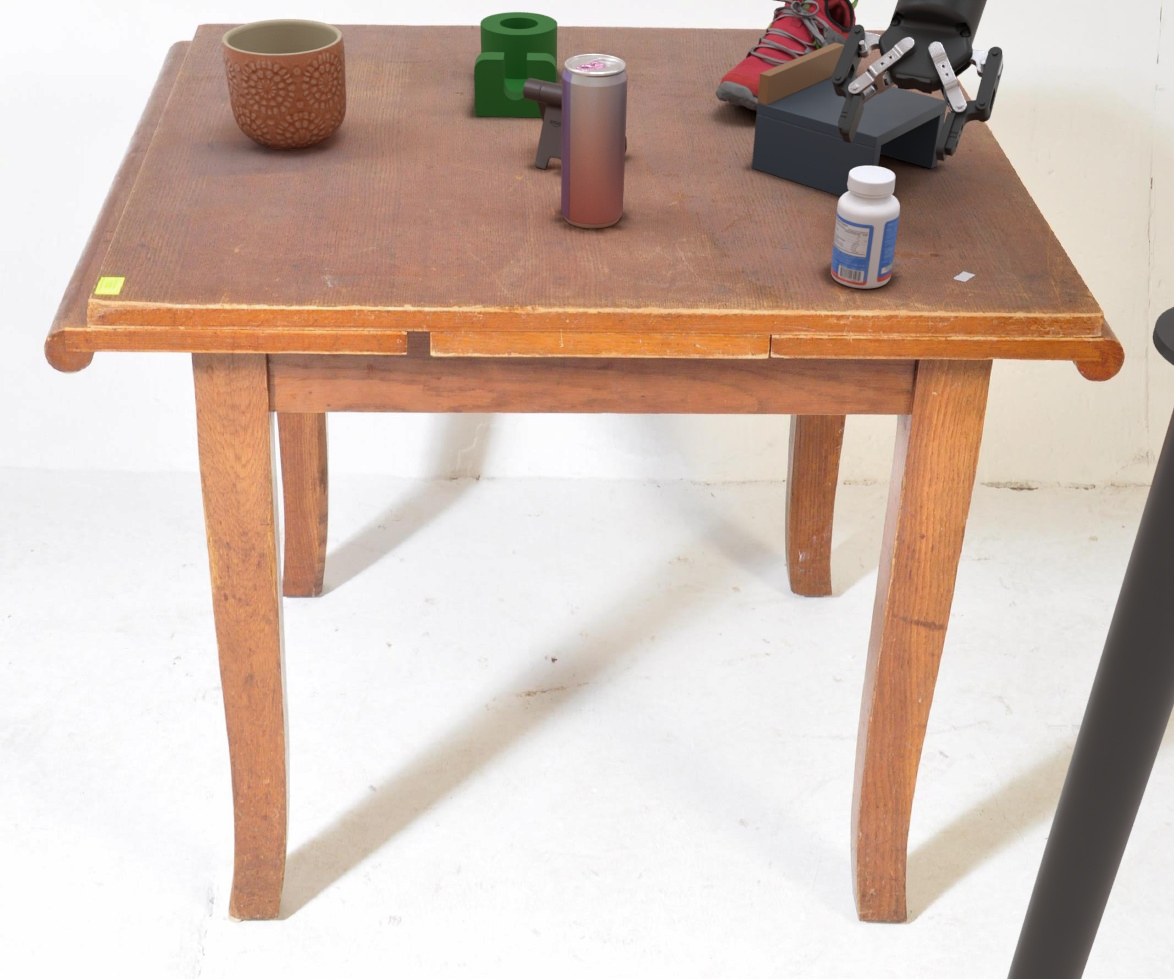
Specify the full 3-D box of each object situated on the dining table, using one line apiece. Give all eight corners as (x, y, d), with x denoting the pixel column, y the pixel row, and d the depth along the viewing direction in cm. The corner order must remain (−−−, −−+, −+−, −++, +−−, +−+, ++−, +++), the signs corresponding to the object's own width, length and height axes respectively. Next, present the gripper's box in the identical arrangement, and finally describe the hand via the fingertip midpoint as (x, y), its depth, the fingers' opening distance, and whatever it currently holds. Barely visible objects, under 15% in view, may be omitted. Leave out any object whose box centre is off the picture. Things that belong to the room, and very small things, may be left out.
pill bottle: (875, 261, 131) (890, 159, 126) (900, 287, 127) (916, 183, 122) (819, 266, 130) (832, 164, 125) (842, 293, 126) (856, 188, 121)
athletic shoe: (675, 104, 165) (681, -2, 158) (827, 63, 178) (838, -36, 172) (750, 135, 157) (759, 26, 151) (903, 91, 170) (918, -12, 164)
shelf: (937, 166, 151) (952, 72, 145) (867, 205, 142) (880, 106, 137) (824, 133, 158) (835, 42, 153) (751, 168, 150) (759, 73, 144)
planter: (318, 110, 161) (309, 12, 155) (371, 144, 153) (364, 41, 147) (214, 132, 155) (201, 30, 149) (264, 169, 147) (252, 62, 141)
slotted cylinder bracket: (483, 64, 175) (482, 11, 172) (557, 66, 176) (557, 13, 172) (475, 116, 161) (473, 59, 157) (555, 117, 161) (556, 60, 157)
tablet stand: (628, 156, 152) (631, 78, 147) (591, 181, 146) (593, 100, 141) (556, 140, 155) (556, 63, 150) (517, 163, 149) (517, 84, 145)
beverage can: (548, 216, 138) (548, 61, 130) (593, 200, 142) (597, 49, 133) (589, 236, 135) (593, 78, 126) (635, 219, 138) (641, 65, 130)
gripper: (866, -50, 128) (809, 114, 126) (1026, -28, 123) (970, 143, 121) (875, -4, 135) (822, 152, 133) (1027, 18, 130) (974, 181, 128)
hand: (892, 148), depth 127 cm, fingers open, 8 cm apart
